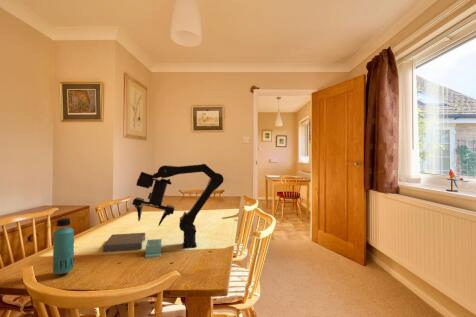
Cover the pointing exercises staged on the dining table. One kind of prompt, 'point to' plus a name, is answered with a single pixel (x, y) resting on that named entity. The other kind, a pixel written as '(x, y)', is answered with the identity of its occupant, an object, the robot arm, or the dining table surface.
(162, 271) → the dining table surface
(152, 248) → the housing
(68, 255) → the beverage bottle
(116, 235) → the stand
